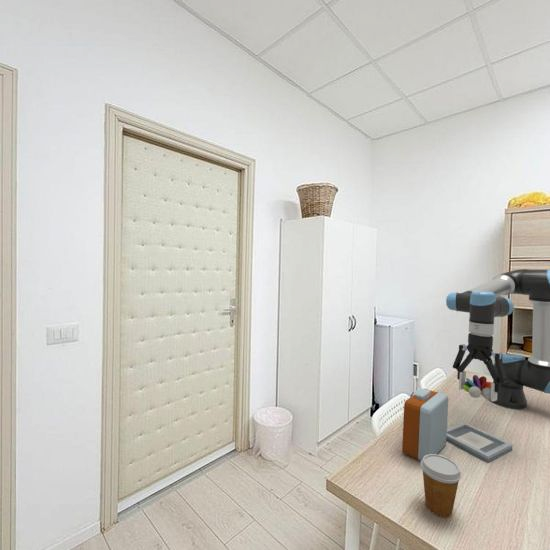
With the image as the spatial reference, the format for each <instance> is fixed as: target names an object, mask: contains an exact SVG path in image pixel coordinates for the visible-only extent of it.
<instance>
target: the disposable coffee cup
mask: <svg viewBox="0 0 550 550" xmlns="http://www.w3.org/2000/svg"><path fill="white" fill-rule="evenodd" d="M420 467H421V469H422V476H423V477H422V480H423V489H424V491H423V492H424V501H425V507H426V508H427V510H428V509H429V510H430V511H429V512H430V513H432V512H433V513H434V515H435V514H436V515H435V516H437V515H438V517H440V516H441V517H440V518H450V517H451V516H452V515H453V510H454V505H455V500H456V497H457V491H458V488H459V487H458V485H459V481H460V480H461V478H462V472H461V471H460V466H459V465H458V464H457V463H456V462H455V461H453V460H452V459H451V458H449V457H446V456H445V455H441V454H428V455H425V456H424V457H423V459H422V461H420ZM433 513H432V514H433Z"/></svg>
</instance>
